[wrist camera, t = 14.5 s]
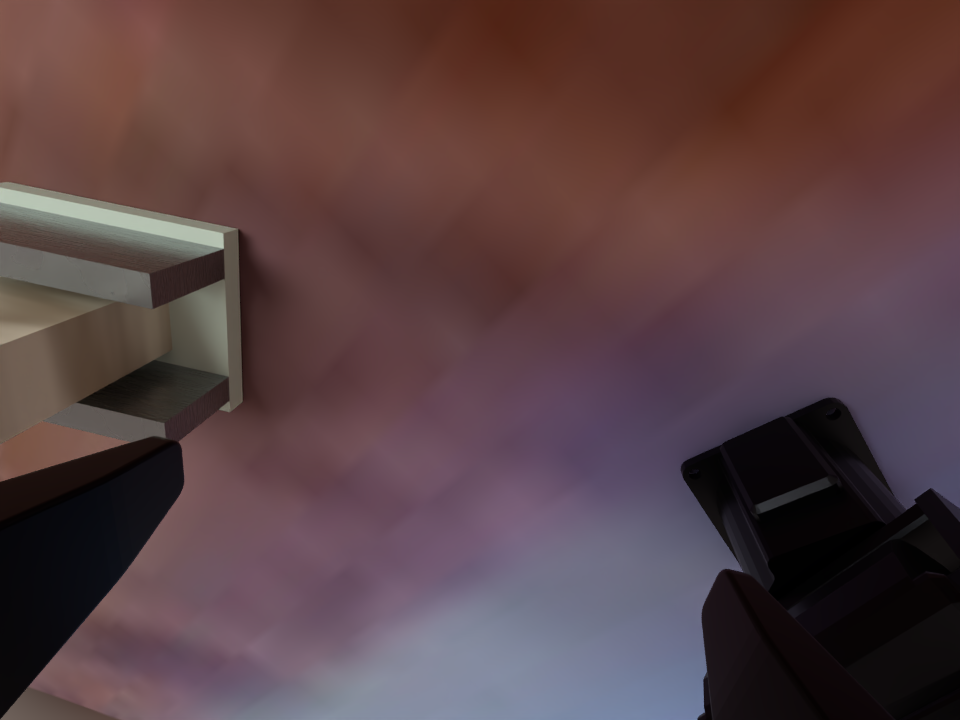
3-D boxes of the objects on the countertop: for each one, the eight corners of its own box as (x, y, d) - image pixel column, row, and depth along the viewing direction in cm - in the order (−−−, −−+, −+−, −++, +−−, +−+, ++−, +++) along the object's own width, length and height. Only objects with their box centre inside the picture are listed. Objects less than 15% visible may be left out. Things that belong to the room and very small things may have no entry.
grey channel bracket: (238, 229, 21) (147, 255, 16) (242, 401, 24) (168, 463, 20) (8, 182, 22) (-140, 194, 17) (43, 356, 25) (-73, 406, 20)
